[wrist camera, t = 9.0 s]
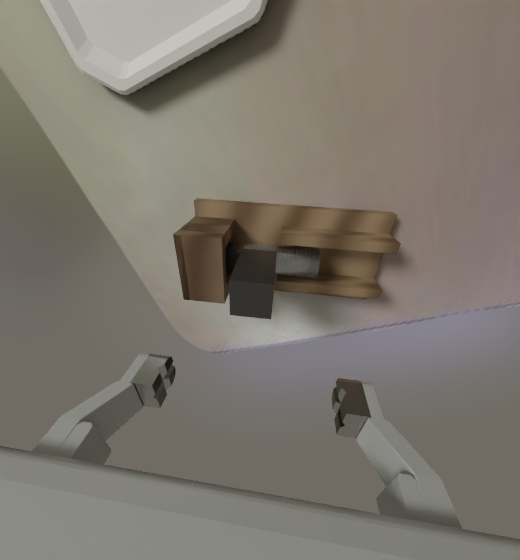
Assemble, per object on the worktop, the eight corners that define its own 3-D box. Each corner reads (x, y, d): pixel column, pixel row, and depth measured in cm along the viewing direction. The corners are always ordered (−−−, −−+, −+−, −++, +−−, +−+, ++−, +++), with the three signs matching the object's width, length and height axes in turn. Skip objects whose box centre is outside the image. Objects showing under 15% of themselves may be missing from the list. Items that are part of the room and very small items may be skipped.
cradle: (392, 212, 27) (426, 235, 20) (364, 294, 33) (383, 332, 27) (197, 198, 29) (170, 215, 22) (205, 279, 35) (185, 311, 28)
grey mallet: (318, 242, 28) (332, 289, 19) (312, 270, 31) (323, 324, 22) (209, 234, 29) (174, 275, 20) (211, 261, 32) (180, 309, 23)
